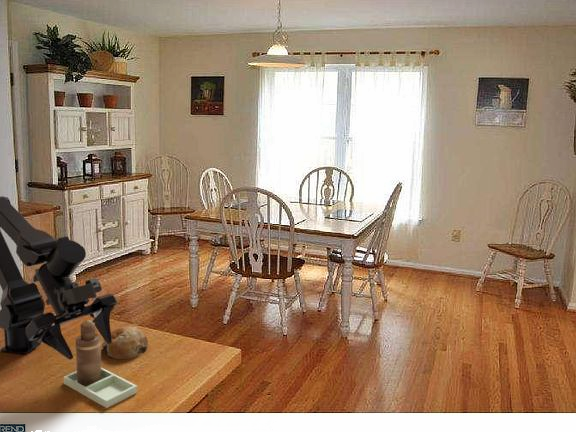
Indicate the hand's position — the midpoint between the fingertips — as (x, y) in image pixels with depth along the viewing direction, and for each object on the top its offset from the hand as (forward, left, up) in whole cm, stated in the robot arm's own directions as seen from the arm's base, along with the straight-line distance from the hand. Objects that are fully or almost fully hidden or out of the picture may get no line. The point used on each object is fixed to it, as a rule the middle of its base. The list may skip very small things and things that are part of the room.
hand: (91, 350), depth 109 cm
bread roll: (0, +16, -8) cm, 18 cm away
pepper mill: (-1, 0, -7) cm, 8 cm away
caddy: (+2, -1, -8) cm, 8 cm away
